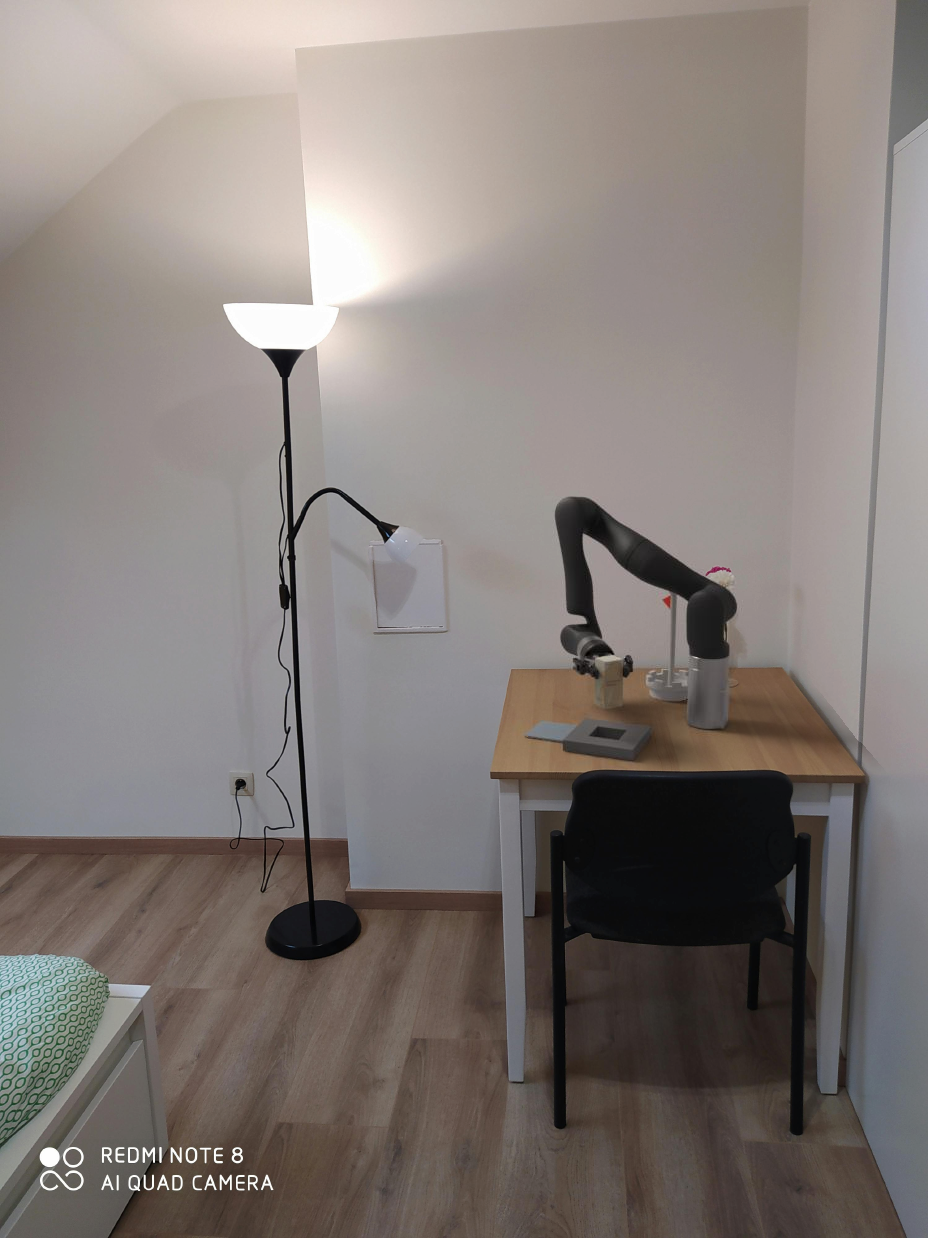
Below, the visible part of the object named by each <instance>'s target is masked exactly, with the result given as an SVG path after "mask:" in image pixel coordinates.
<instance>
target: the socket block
mask: <svg viewBox="0 0 928 1238" xmlns="http://www.w3.org/2000/svg"><path fill="white" fill-rule="evenodd" d="M651 737H652V726H650V725H643V724H633V723H627V722H620V721H618V722H617V721H613V720H612V721H611V720H605V719H603V720H602V719H598V718H597V719H595V718H588V717H585V718H584V719H582V721H580V722H579V723H578V724H577V726H576V727H575V728H574V729H573V730H572V731H571V732H570V733H569V734H568V735H567V736H566V737H565V738H564V739H563V743H562V751H563V750H565V751H564V752H570V751H571V752H572V753H577V754H584V755H591V756H597V757H598V756H599V757H606V758H613V759H619V760H626V761H634V760H635V758H636V757H637V756H638V754H639V753H640V751H641V750H642V749H643V748H644V747H645V746H646V743H648V741H649V740H650V739H651Z"/></svg>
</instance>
